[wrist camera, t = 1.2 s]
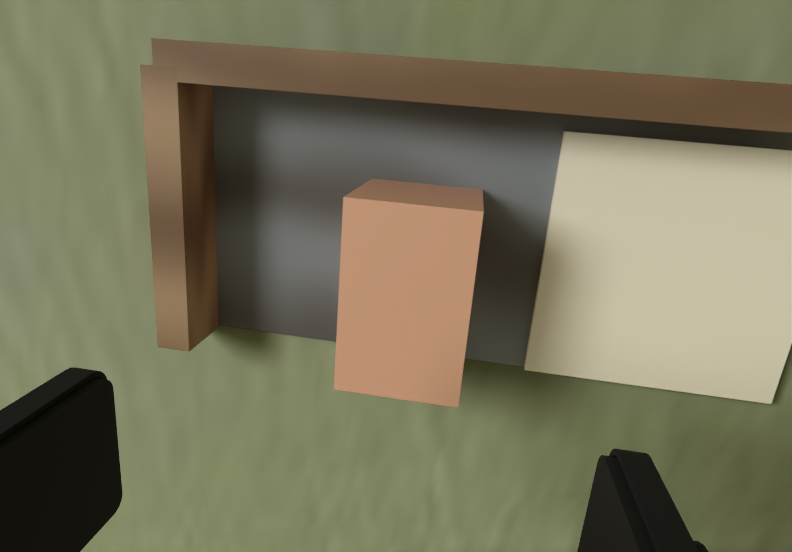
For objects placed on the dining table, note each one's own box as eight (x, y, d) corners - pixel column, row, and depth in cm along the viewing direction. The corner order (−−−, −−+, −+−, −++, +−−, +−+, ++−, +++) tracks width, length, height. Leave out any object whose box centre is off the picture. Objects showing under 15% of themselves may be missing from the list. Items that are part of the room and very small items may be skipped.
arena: (182, 46, 22) (138, 37, 19) (868, 97, 19) (938, 94, 16) (193, 320, 25) (157, 347, 23) (768, 399, 22) (810, 440, 20)
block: (372, 178, 22) (343, 197, 17) (482, 189, 21) (483, 211, 17) (362, 334, 24) (334, 389, 19) (462, 347, 24) (458, 407, 19)
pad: (563, 131, 20) (565, 131, 20) (848, 155, 19) (854, 156, 19) (523, 366, 23) (524, 369, 23) (767, 400, 22) (771, 404, 22)
